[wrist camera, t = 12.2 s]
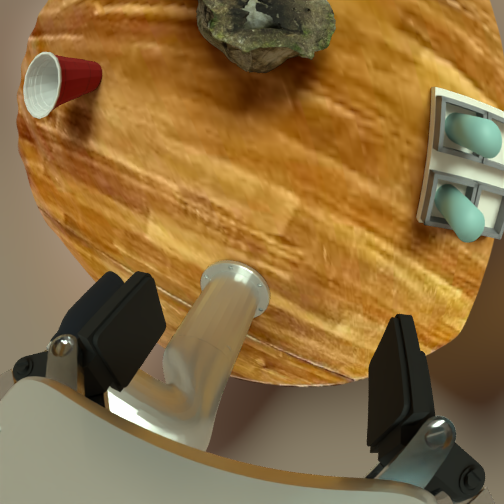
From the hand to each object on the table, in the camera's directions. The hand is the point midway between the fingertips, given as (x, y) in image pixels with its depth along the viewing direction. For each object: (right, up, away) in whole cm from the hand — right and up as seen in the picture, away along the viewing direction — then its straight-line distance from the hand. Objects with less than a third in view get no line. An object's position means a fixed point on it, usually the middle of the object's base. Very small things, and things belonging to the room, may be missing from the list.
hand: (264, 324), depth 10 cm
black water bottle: (-33, -4, +49) cm, 59 cm away
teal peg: (+24, +18, +13) cm, 33 cm away
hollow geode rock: (0, +36, +11) cm, 38 cm away
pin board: (+28, +14, +15) cm, 35 cm away
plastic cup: (-28, +33, +23) cm, 49 cm away
